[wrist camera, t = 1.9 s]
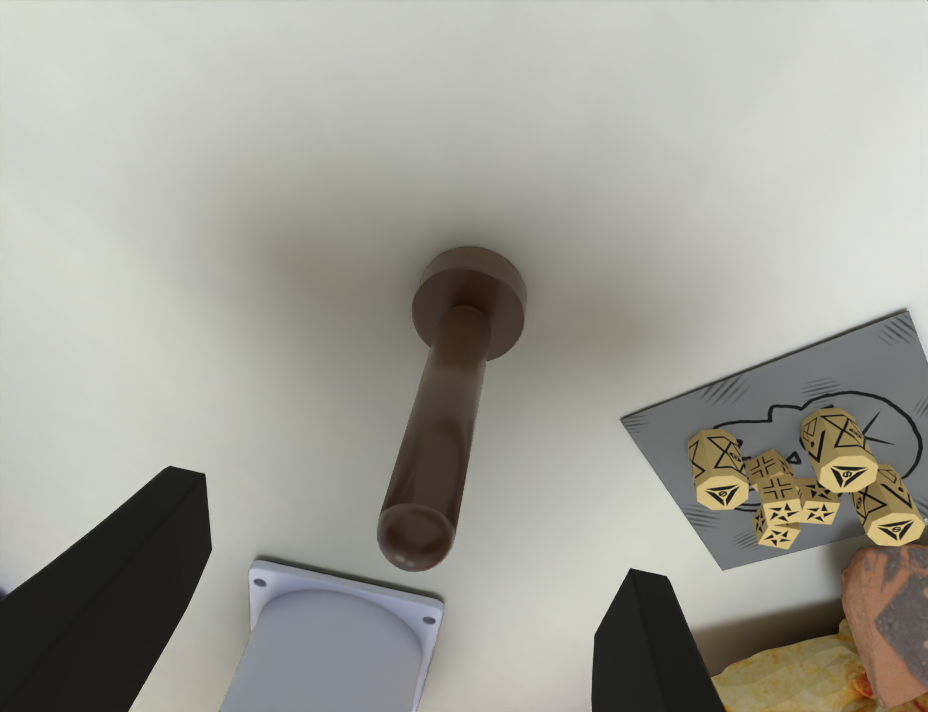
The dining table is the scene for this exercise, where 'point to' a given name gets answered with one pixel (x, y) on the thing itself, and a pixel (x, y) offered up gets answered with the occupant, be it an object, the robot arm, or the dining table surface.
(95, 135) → the dining table surface
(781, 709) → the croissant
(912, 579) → the pottery shard
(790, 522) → the dice set
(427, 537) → the flanged brown rod
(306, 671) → the robot arm
